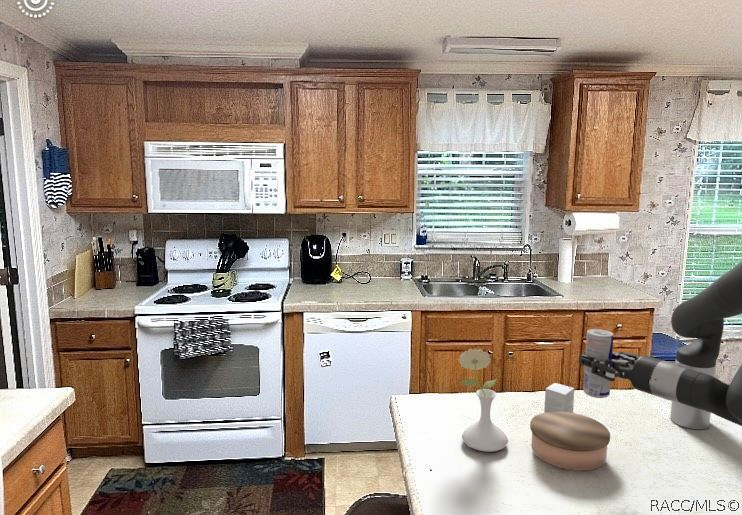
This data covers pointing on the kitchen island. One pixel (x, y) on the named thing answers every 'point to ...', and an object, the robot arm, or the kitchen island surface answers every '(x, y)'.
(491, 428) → the flower in vase
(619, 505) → the kitchen island surface
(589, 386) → the beverage can
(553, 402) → the product box
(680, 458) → the kitchen island surface
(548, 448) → the lidded bowl
